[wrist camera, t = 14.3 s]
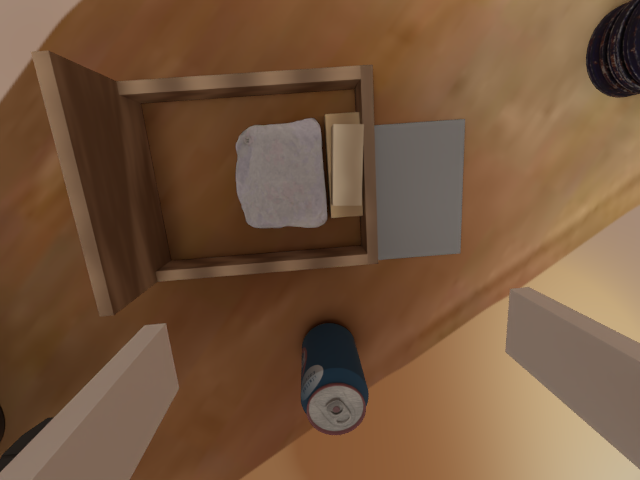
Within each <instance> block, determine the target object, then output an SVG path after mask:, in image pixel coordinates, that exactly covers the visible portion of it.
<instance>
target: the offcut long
mask: <svg viewBox="0 0 640 480" xmlns="http://www.w3.org/2000/svg"><path fill="white" fill-rule="evenodd" d="M333 124H360V119H359V112H353V113H337V114H325V116H324V131H325V148H326V164H327V180H328V196H329V213H330V216H331V218H338V217H351V216H363V202H362V206H333V205H332V204H331V127H332V125H333Z"/></svg>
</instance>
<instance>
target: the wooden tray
mask: <svg viewBox="0 0 640 480" xmlns="http://www.w3.org/2000/svg"><path fill="white" fill-rule="evenodd" d="M32 57H33V61H34V65H35V69H36V73H37V77H38V80H39V84H40V88H41V92H42V96H43V100H44V104H45V107H46V111H47V115H48V119H49V123H50V127H51V131H52V134H53V138H54V142H55V146H56V150H57V154H58V158H59V161H60V165H61V169H62V173H63V177H64V181H65V185H66V188H67V192H68V196H69V200H70V204H71V208H72V212H73V215H74V219H75V223H76V227H77V231H78V235H79V239H80V242H81V246H82V250H83V254H84V258H85V262H86V266H87V269H88V273H89V277H90V281H91V285H92V289H93V293H94V296H95V300H96V304H97V308H98V312H99V316H111V315H115V314H116V313H117V312H119V311H120V310H121V309H123V308H124V307H125V306H127V305H128V304H129V303H130V302H132V301H133V300H134V299H136V298H137V297H138V296H140V295H141V294H142V293H144V292H145V291H146V290H147V289H149V288H150V287H151V286H153V285H154V284H155V283H157V282H160V281H172V280H184V279H196V278H208V277H221V276H233V275H245V274H257V273H269V272H282V271H294V270H306V269H318V268H330V267H343V266H355V265H367V264H378V235H377V200H376V166H375V132H374V97H373V65H360V66H345V67H330V68H314V69H299V70H284V71H269V72H253V73H238V74H223V75H208V76H192V77H177V78H162V79H146V80H131V81H114V80H112V79H110V78H108V77H105V76H103V75H101V74H99V73H97V72H94V71H92V70H90V69H88V68H86V67H83V66H81V65H79V64H77V63H75V62H72V61H70V60H68V59H66V58H63V57H61V56H59V55H57V54H55V53H52V52H50V51H36V52H32ZM346 89H355V109H356V112H359V119H360V124H364V136H363V172H362V202H363V216H360V228H361V246H348V247H336V248H323V249H311V250H298V251H286V252H274V253H261V254H249V255H236V256H224V257H211V258H199V259H187V260H174V261H171V258H170V253H169V248H168V242H167V237H166V232H165V227H164V222H163V216H162V211H161V206H160V201H159V196H158V190H157V185H156V180H155V175H154V170H153V164H152V159H151V154H150V149H149V143H148V138H147V133H146V128H145V123H144V117H143V112H142V107H141V103H154V102H168V101H183V100H198V99H213V98H228V97H243V96H257V95H272V94H287V93H302V92H317V91H332V90H346Z"/></svg>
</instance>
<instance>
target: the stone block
mask: <svg viewBox="0 0 640 480" xmlns="http://www.w3.org/2000/svg"><path fill="white" fill-rule="evenodd" d="M236 151H237V155H238V159H237V164H236V183H237V195H238V198H239V200H240V202H241V204H242V205H241V206H242V209H243V211H244V214H245V218H246V222H247V223H248V224H249V225H251V226H253V227H255V228H282V227H285V226H294V227H304V228H315V227H319V226H321V225H323V224H325V222H326V221H327V204H326V189H325V179H324V170H323V156H322V137H321V128H320V125H319V123H318V122H317V121H316V120H315V118H308V119H304V120H301V121H296V122H291V123H285V124H274V125H273V124H270V125H253V126H251V127H249V128H247V129H246V130H245V131H243V132H242V134H241V135H240V136H239V139H238V141H237V143H236Z"/></svg>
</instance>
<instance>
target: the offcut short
mask: <svg viewBox="0 0 640 480" xmlns="http://www.w3.org/2000/svg"><path fill="white" fill-rule="evenodd" d="M363 136H364V124H333V125H332V127H331V204H332V205H333V206H362V172H363Z"/></svg>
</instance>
